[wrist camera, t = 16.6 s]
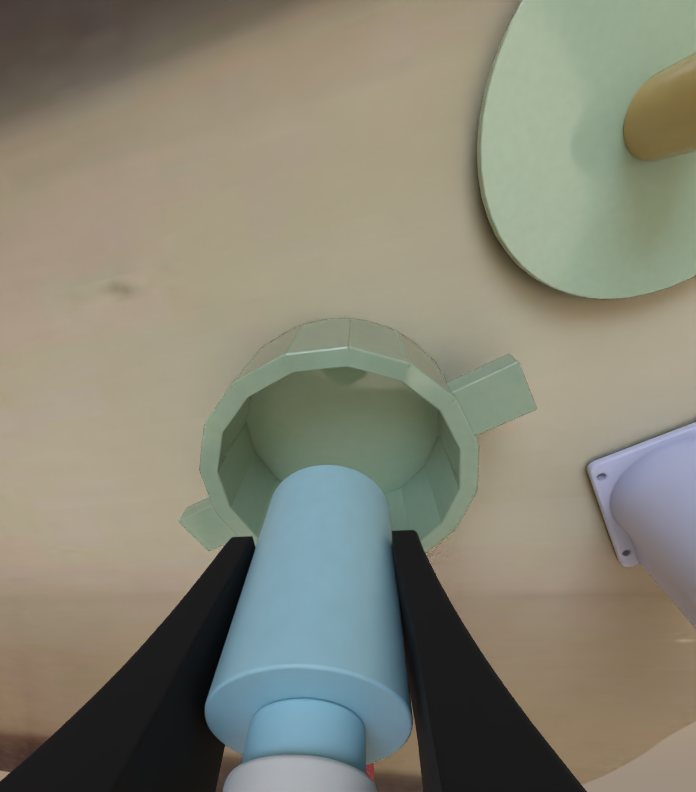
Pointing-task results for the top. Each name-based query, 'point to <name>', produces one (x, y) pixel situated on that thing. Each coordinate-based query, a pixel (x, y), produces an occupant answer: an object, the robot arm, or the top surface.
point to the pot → (351, 427)
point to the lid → (594, 144)
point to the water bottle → (315, 643)
